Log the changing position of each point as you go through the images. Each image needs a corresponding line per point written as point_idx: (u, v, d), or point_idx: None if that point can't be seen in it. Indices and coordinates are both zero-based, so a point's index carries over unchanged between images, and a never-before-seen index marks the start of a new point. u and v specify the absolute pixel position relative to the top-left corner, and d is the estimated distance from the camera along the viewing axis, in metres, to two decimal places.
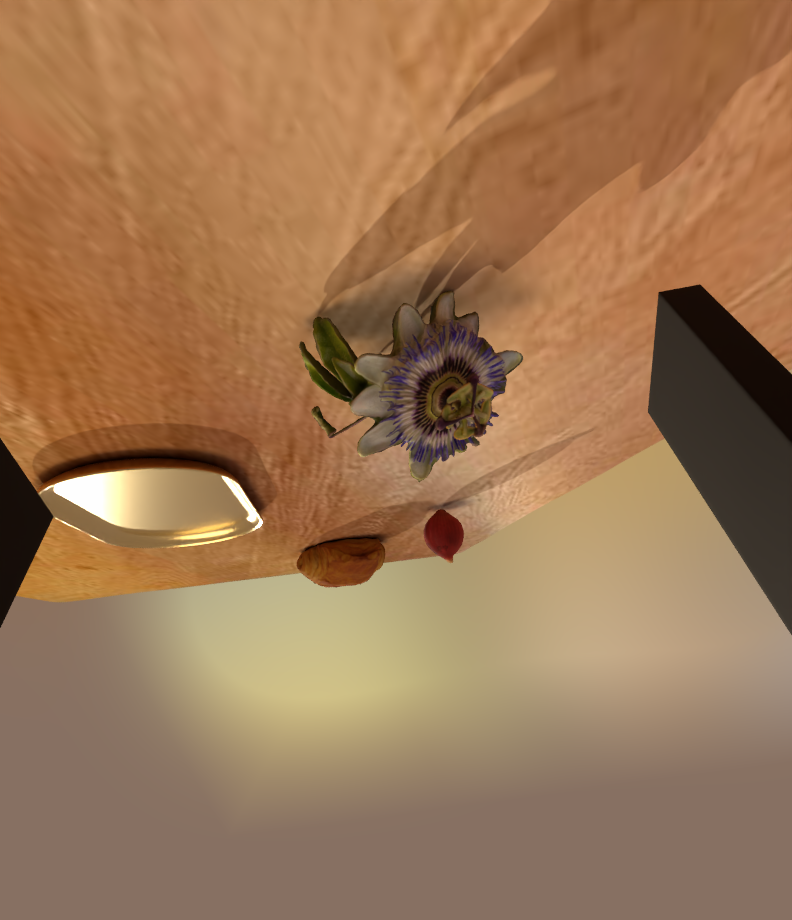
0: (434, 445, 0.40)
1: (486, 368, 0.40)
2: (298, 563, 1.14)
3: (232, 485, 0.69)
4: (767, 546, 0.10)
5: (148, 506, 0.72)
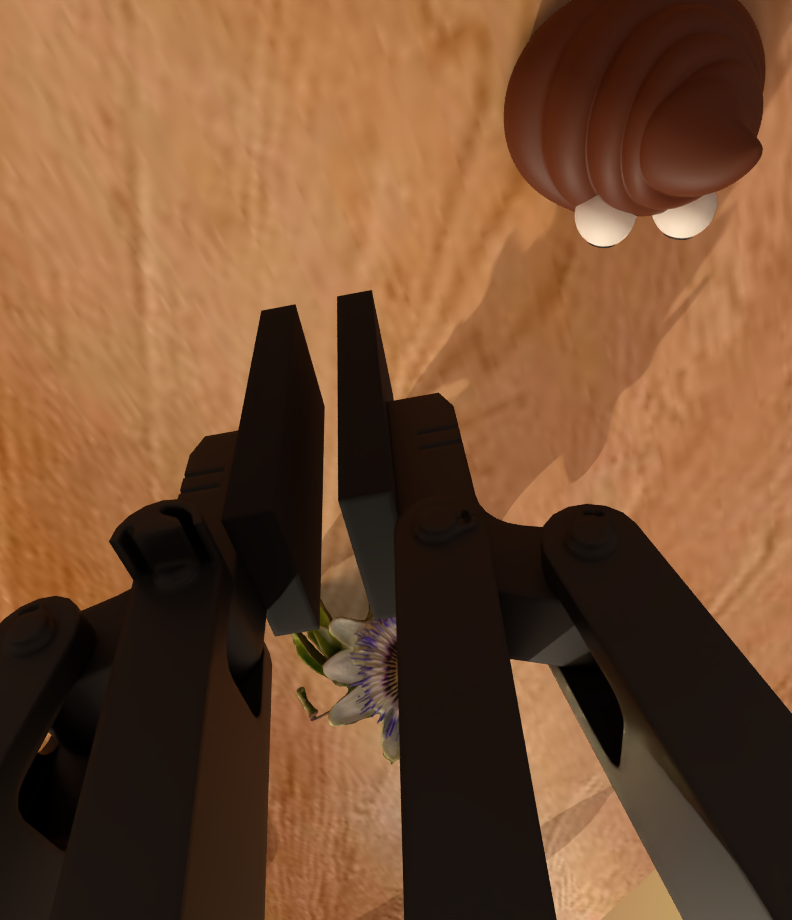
0: None
1: None
2: None
3: None
4: None
5: None
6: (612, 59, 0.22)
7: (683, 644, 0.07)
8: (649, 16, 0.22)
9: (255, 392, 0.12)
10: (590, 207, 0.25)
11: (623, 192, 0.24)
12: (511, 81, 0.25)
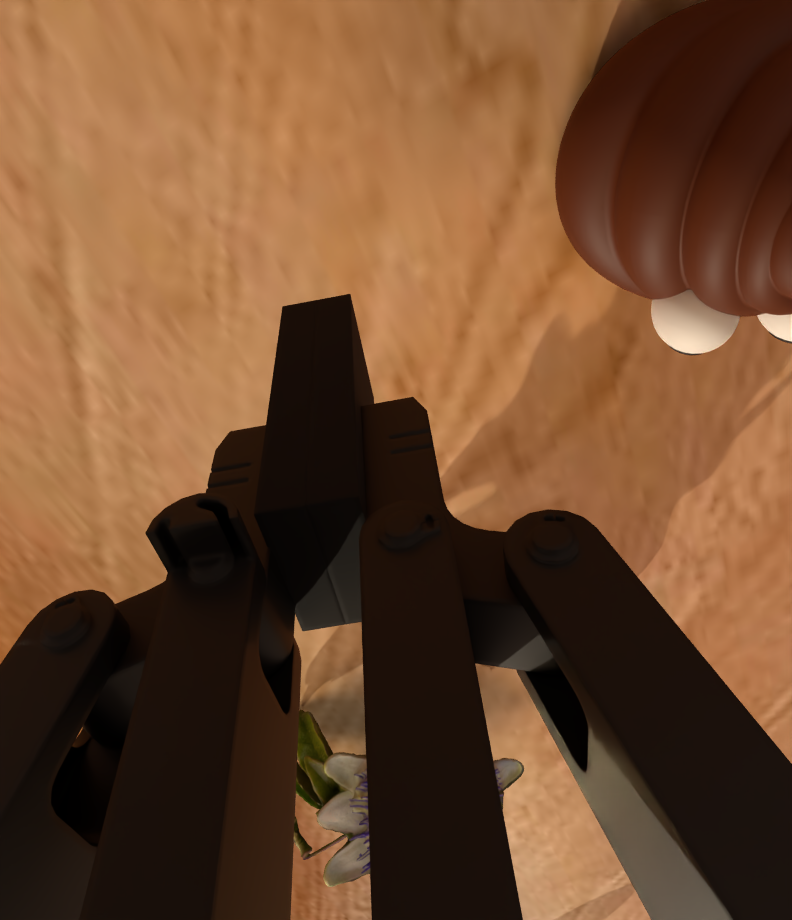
0: None
1: None
2: None
3: None
4: None
5: None
6: (727, 110, 0.15)
7: (643, 647, 0.07)
8: (781, 48, 0.15)
9: (281, 387, 0.12)
10: (678, 306, 0.18)
11: (733, 294, 0.17)
12: (569, 132, 0.18)
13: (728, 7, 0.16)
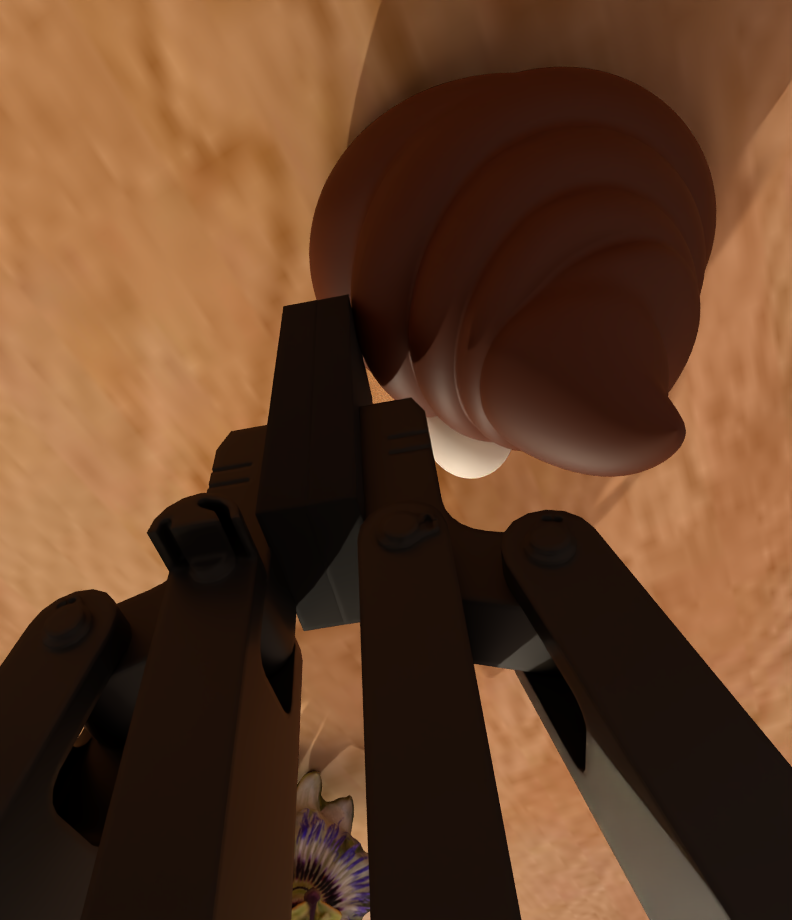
0: None
1: (348, 874, 0.33)
2: None
3: None
4: None
5: None
6: (437, 224, 0.13)
7: (641, 647, 0.07)
8: (501, 150, 0.13)
9: (282, 387, 0.12)
10: (437, 429, 0.16)
11: (474, 429, 0.14)
12: None
13: (454, 95, 0.14)
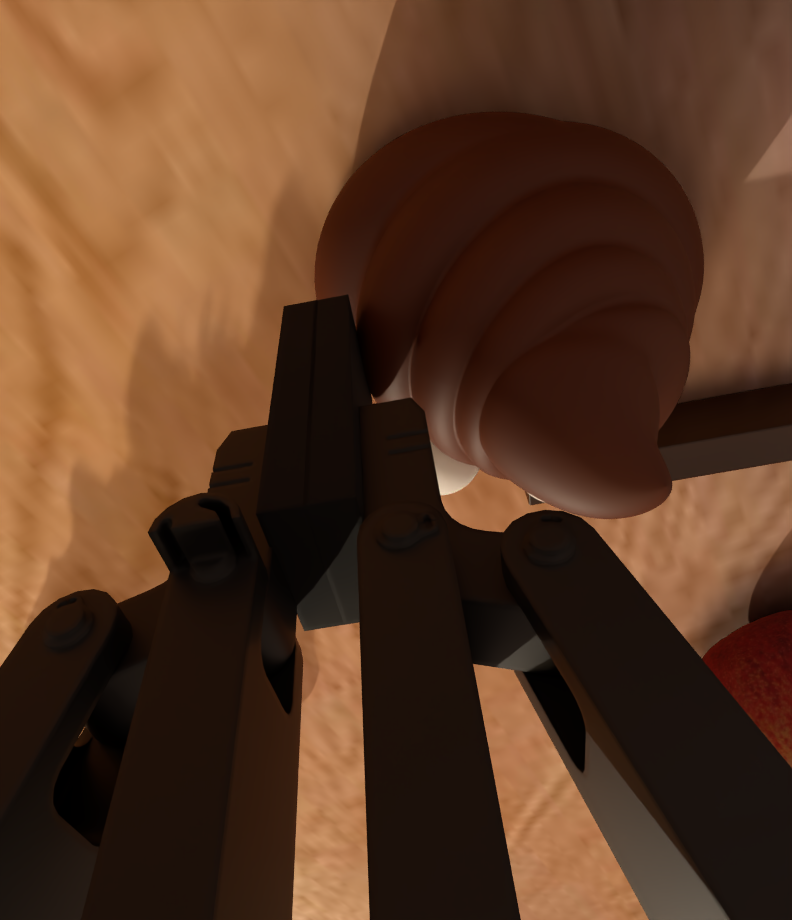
0: None
1: None
2: None
3: None
4: None
5: None
6: (469, 243, 0.13)
7: (640, 647, 0.07)
8: (541, 189, 0.13)
9: (283, 387, 0.12)
10: None
11: (456, 447, 0.14)
12: (329, 215, 0.16)
13: (503, 126, 0.14)
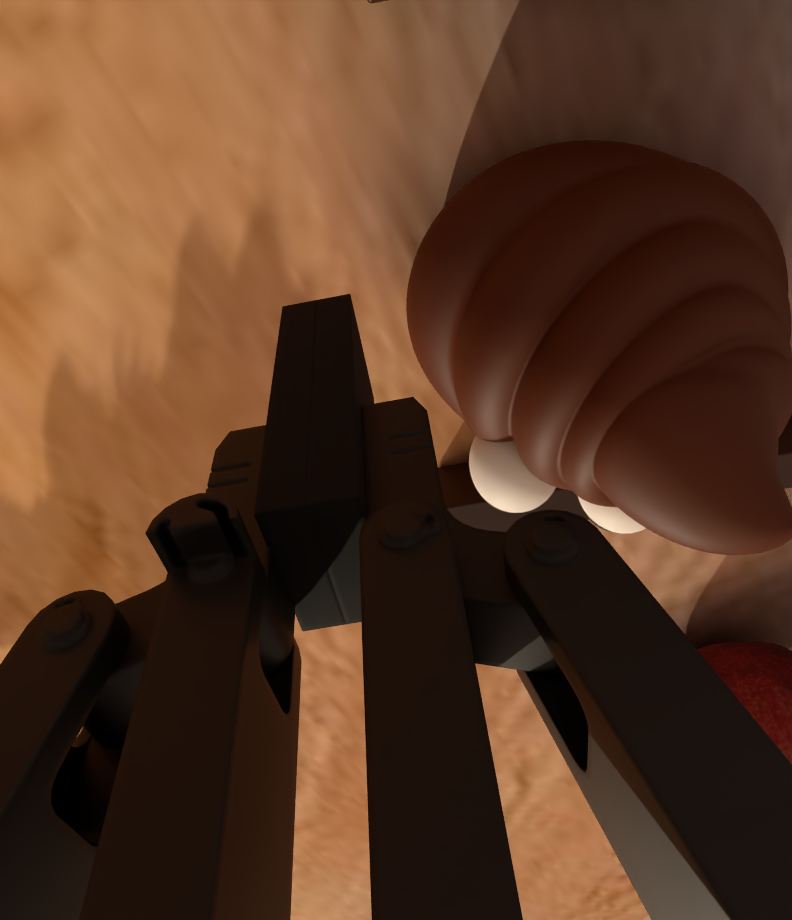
0: None
1: None
2: None
3: None
4: None
5: None
6: (600, 268, 0.13)
7: (644, 647, 0.07)
8: (673, 225, 0.13)
9: (281, 387, 0.12)
10: (497, 455, 0.16)
11: (553, 467, 0.14)
12: (439, 221, 0.16)
13: (635, 158, 0.14)
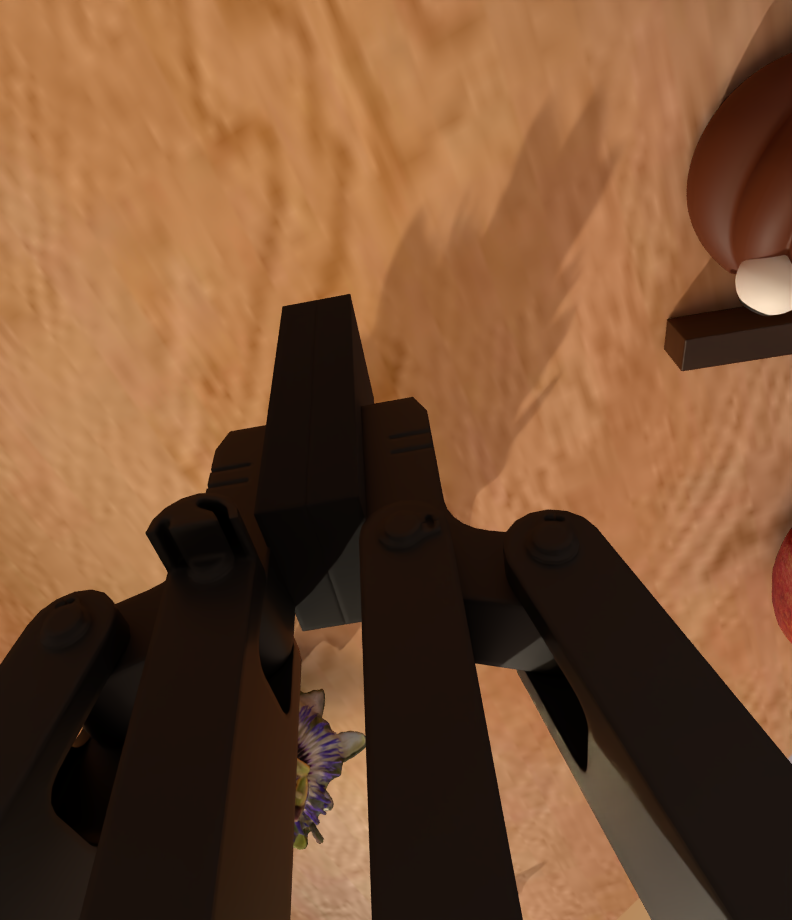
0: None
1: (317, 745, 0.39)
2: None
3: None
4: None
5: None
6: None
7: (643, 647, 0.07)
8: None
9: (281, 387, 0.12)
10: (772, 265, 0.22)
11: None
12: (735, 98, 0.22)
13: None
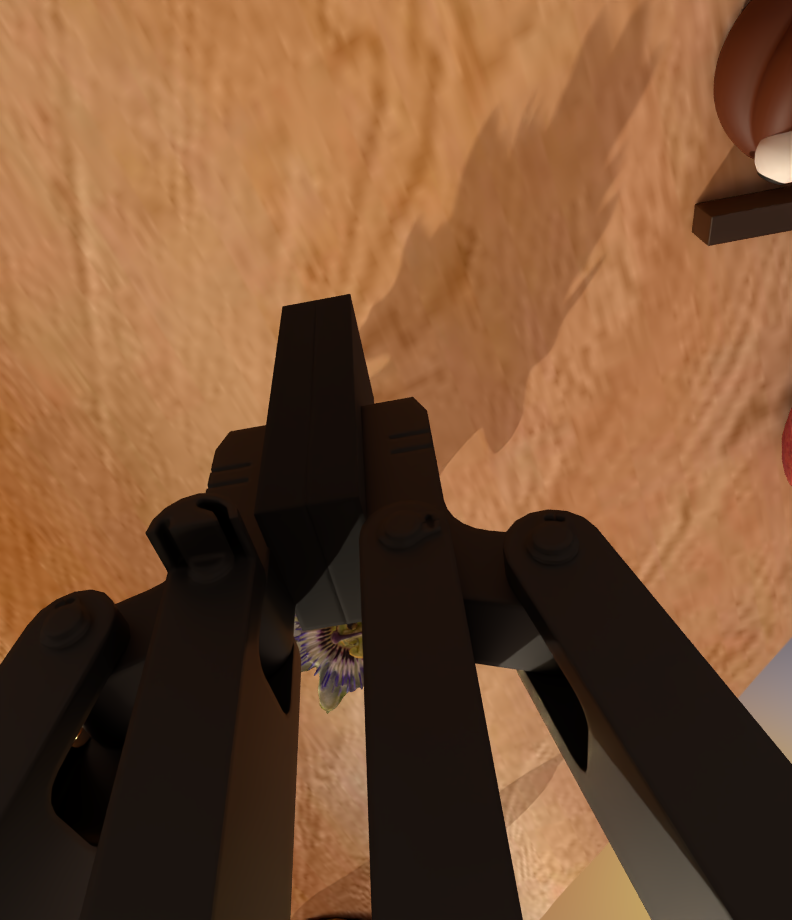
0: (340, 671, 0.43)
1: None
2: None
3: None
4: None
5: None
6: None
7: (643, 647, 0.07)
8: None
9: (281, 387, 0.12)
10: (785, 138, 0.28)
11: None
12: (754, 4, 0.28)
13: None
